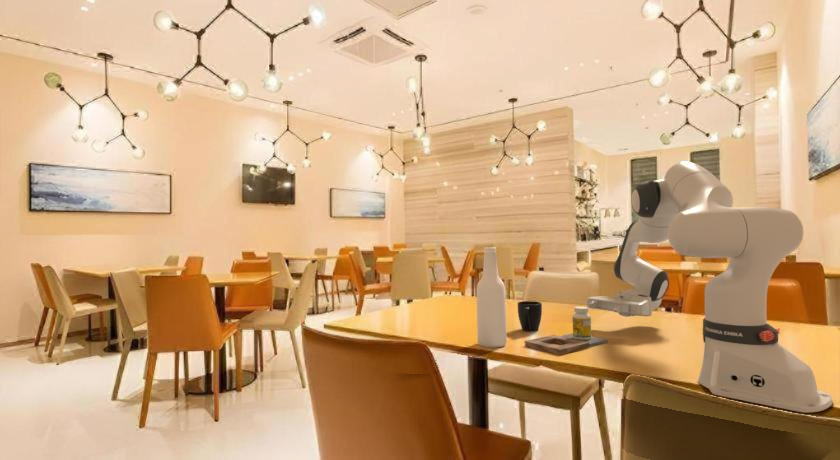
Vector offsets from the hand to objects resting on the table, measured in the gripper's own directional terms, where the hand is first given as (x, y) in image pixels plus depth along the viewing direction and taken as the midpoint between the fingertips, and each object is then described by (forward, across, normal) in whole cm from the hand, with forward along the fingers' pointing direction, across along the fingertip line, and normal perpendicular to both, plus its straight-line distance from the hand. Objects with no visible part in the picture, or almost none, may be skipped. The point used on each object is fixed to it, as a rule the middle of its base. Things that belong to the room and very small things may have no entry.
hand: (603, 307), depth 149 cm
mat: (+12, 0, +9) cm, 15 cm away
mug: (+14, -20, +9) cm, 26 cm away
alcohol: (+36, -14, +9) cm, 40 cm away
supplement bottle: (+12, 0, +8) cm, 14 cm away
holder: (+24, 0, +9) cm, 25 cm away
